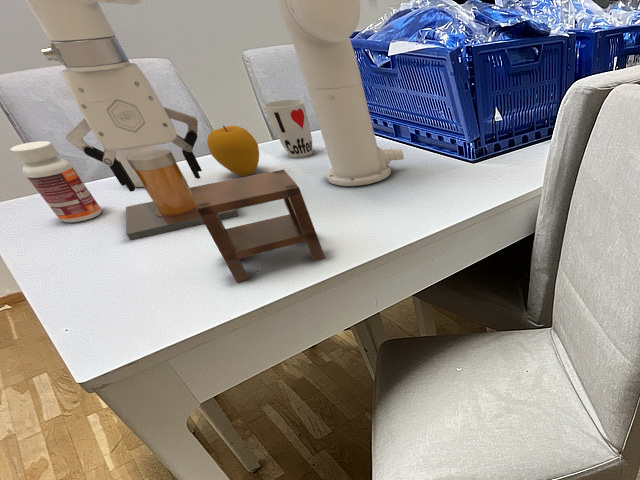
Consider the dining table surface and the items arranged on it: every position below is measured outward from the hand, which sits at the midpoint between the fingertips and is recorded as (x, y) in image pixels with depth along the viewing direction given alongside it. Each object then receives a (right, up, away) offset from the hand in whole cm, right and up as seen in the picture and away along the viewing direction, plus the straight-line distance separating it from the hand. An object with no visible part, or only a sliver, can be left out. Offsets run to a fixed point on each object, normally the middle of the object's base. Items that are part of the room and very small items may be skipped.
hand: (166, 182), depth 75 cm
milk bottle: (-17, +8, +17) cm, 25 cm away
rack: (+24, -16, -9) cm, 30 cm away
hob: (0, -4, +4) cm, 5 cm away
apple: (+1, +11, +19) cm, 22 cm away
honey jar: (0, -3, +3) cm, 4 cm away
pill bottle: (-18, -4, +4) cm, 19 cm away
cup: (+8, +20, +28) cm, 36 cm away
